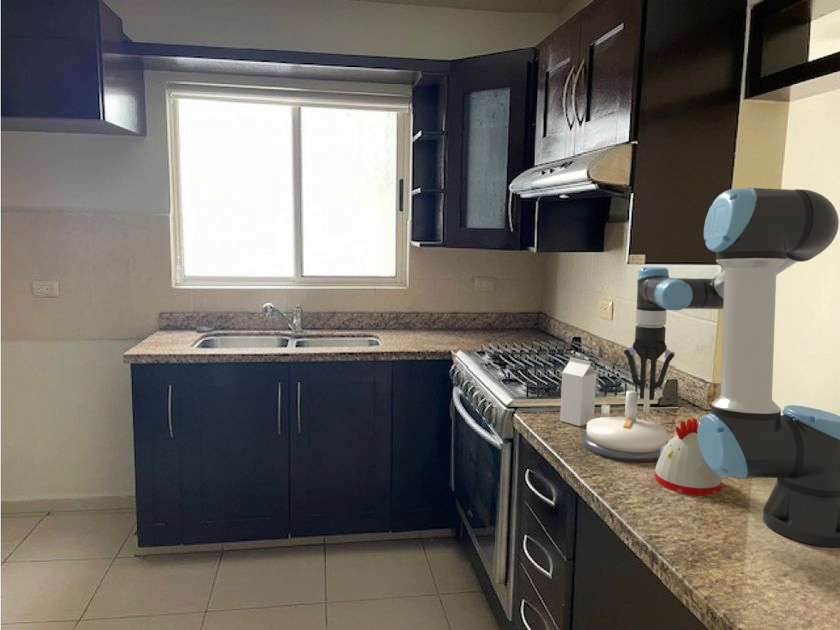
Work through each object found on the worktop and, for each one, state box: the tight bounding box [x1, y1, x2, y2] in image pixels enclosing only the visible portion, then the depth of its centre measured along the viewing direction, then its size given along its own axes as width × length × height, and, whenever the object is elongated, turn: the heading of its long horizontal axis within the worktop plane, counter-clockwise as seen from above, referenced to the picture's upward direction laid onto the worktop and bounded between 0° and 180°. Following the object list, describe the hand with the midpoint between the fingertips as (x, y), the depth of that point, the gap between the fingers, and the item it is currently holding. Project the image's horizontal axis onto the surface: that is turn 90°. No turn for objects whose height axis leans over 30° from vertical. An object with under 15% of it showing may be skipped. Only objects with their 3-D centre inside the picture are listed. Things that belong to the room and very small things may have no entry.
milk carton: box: [559, 357, 597, 427], centre depth 182 cm, size 7×7×19 cm
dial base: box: [581, 403, 669, 464], centre depth 163 cm, size 25×22×7 cm
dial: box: [585, 390, 668, 453], centre depth 161 cm, size 20×20×11 cm
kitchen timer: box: [654, 417, 722, 496], centre depth 139 cm, size 14×14×15 cm
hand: (646, 410), depth 167 cm, fingers closed
